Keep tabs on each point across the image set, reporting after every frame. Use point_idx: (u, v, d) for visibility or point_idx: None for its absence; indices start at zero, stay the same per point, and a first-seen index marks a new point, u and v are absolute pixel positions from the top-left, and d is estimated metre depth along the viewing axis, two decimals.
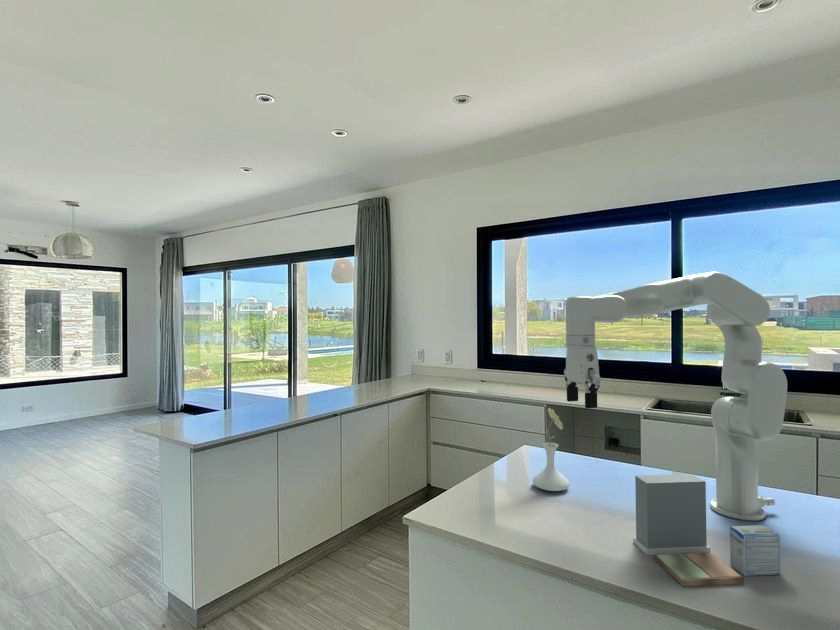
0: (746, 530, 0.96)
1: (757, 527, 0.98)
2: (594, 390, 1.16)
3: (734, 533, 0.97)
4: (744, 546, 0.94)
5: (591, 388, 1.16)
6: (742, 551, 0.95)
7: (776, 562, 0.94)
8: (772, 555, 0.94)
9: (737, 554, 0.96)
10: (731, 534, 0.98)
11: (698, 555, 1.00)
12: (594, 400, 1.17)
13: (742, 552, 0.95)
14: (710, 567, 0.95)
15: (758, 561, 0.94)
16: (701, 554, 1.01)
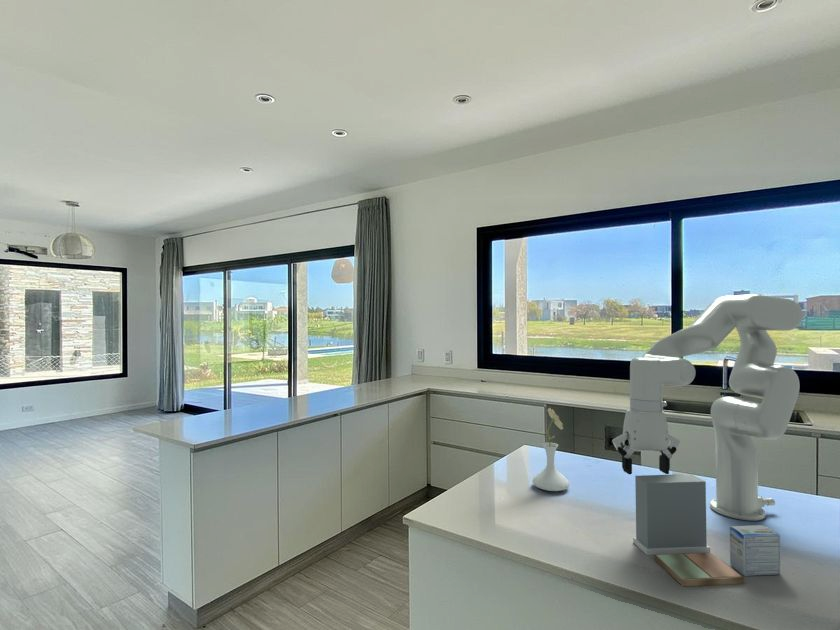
0: (746, 530, 0.96)
1: (757, 527, 0.98)
2: None
3: (734, 533, 0.97)
4: (744, 546, 0.94)
5: (672, 452, 1.15)
6: (742, 551, 0.95)
7: (776, 562, 0.94)
8: (772, 555, 0.94)
9: (737, 554, 0.96)
10: (731, 534, 0.98)
11: (698, 555, 1.00)
12: None
13: (742, 552, 0.95)
14: (710, 567, 0.95)
15: (758, 561, 0.94)
16: (701, 554, 1.01)
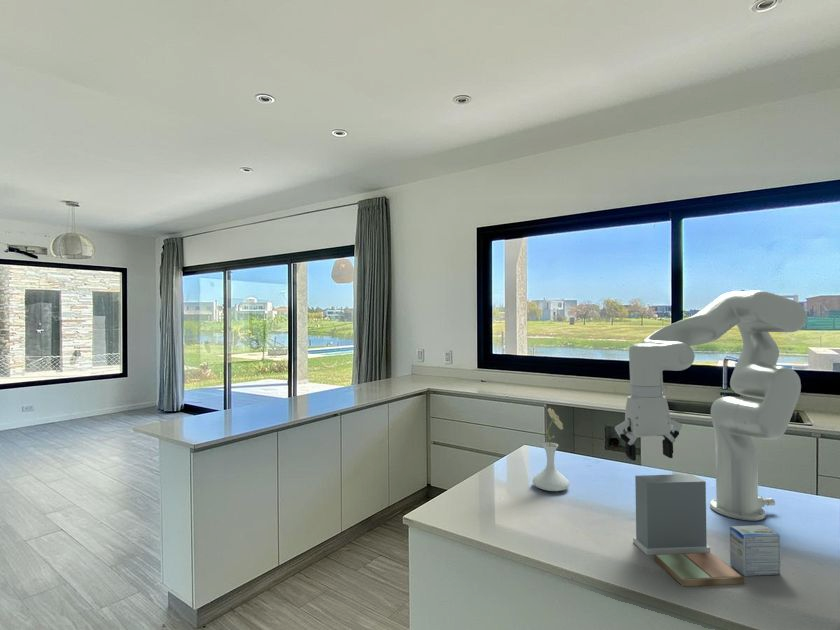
0: (745, 530, 0.96)
1: (757, 527, 0.98)
2: None
3: (734, 533, 0.97)
4: (744, 546, 0.94)
5: (675, 436, 1.16)
6: (742, 551, 0.95)
7: (776, 562, 0.94)
8: (772, 555, 0.94)
9: (737, 554, 0.96)
10: (731, 534, 0.98)
11: (698, 555, 1.00)
12: None
13: (742, 552, 0.95)
14: (710, 567, 0.95)
15: (758, 561, 0.94)
16: (701, 554, 1.01)
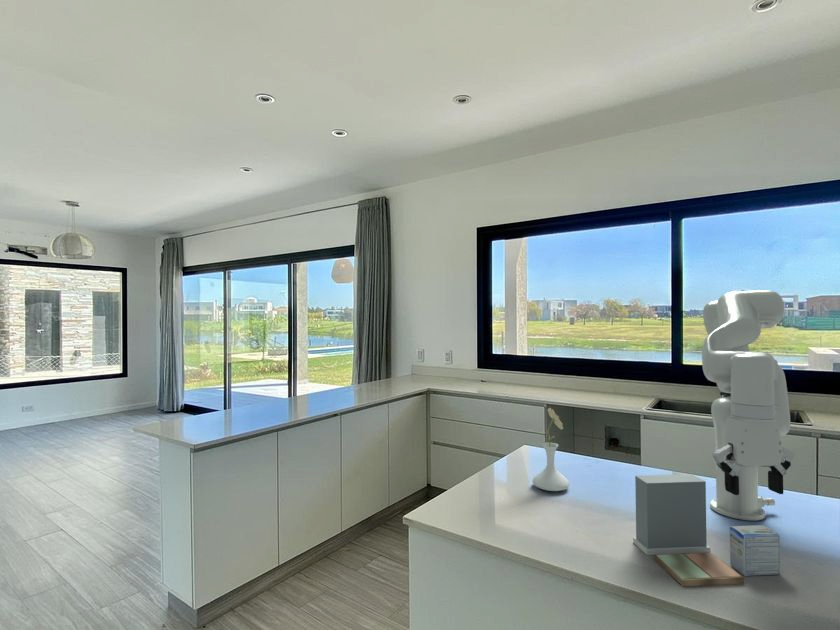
0: (745, 530, 0.96)
1: (757, 527, 0.98)
2: None
3: (734, 533, 0.97)
4: (744, 546, 0.94)
5: (786, 467, 0.96)
6: (742, 551, 0.95)
7: (776, 562, 0.94)
8: (772, 555, 0.94)
9: (737, 554, 0.96)
10: (731, 534, 0.98)
11: (698, 555, 1.00)
12: None
13: (742, 552, 0.95)
14: (710, 567, 0.95)
15: (758, 561, 0.94)
16: (701, 554, 1.01)
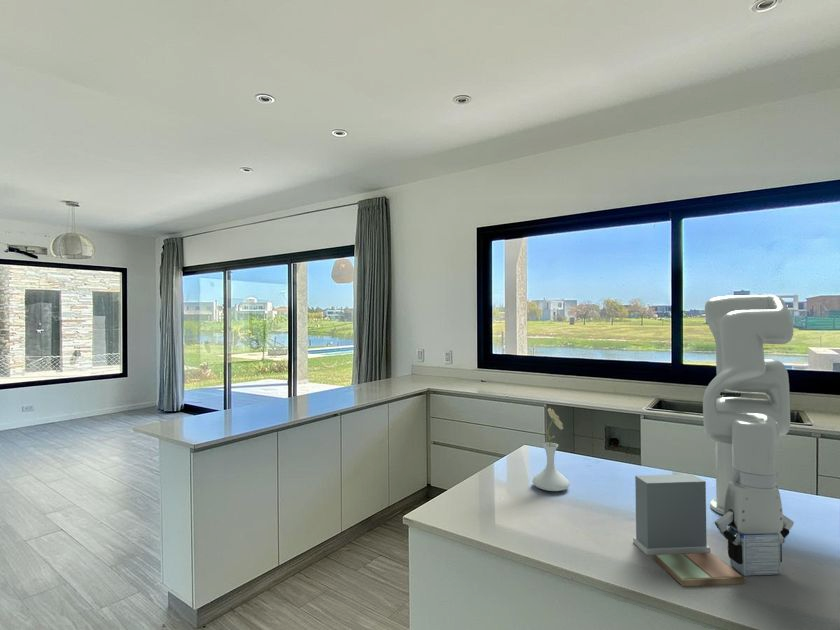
0: None
1: None
2: None
3: (734, 533, 0.97)
4: (744, 546, 0.94)
5: (784, 535, 0.96)
6: (742, 551, 0.95)
7: (776, 562, 0.94)
8: (772, 554, 0.94)
9: None
10: None
11: (698, 555, 1.00)
12: None
13: (742, 552, 0.95)
14: (710, 567, 0.95)
15: (758, 560, 0.94)
16: (701, 554, 1.01)
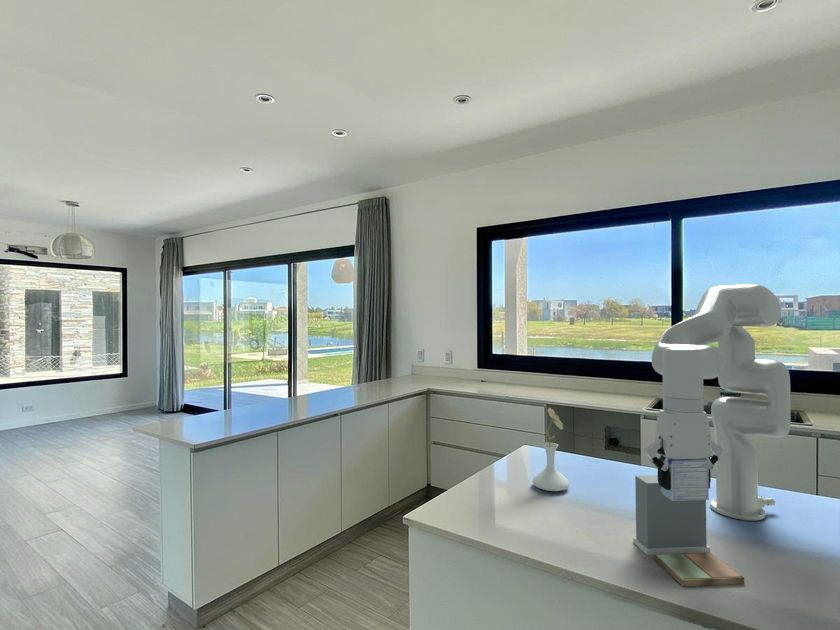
0: None
1: None
2: None
3: (664, 460, 0.97)
4: (672, 471, 0.94)
5: (713, 462, 0.96)
6: (671, 477, 0.94)
7: (704, 487, 0.94)
8: (700, 480, 0.94)
9: None
10: None
11: (698, 555, 1.00)
12: None
13: None
14: (710, 567, 0.95)
15: (686, 486, 0.94)
16: (701, 554, 1.01)
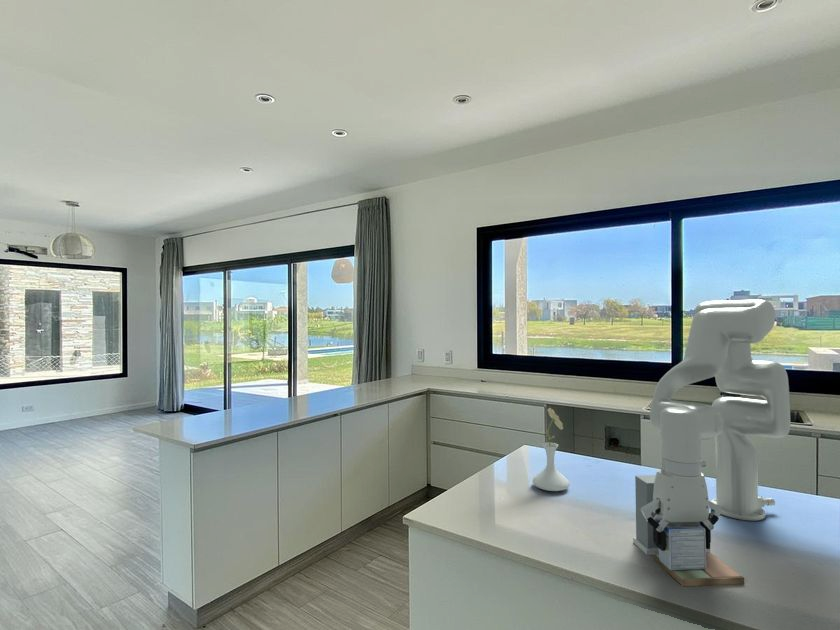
0: (672, 524, 0.96)
1: None
2: None
3: None
4: (669, 540, 0.94)
5: (713, 522, 0.96)
6: (668, 545, 0.94)
7: (702, 556, 0.94)
8: (697, 548, 0.94)
9: None
10: None
11: None
12: None
13: (668, 546, 0.95)
14: (710, 567, 0.95)
15: (684, 555, 0.94)
16: None
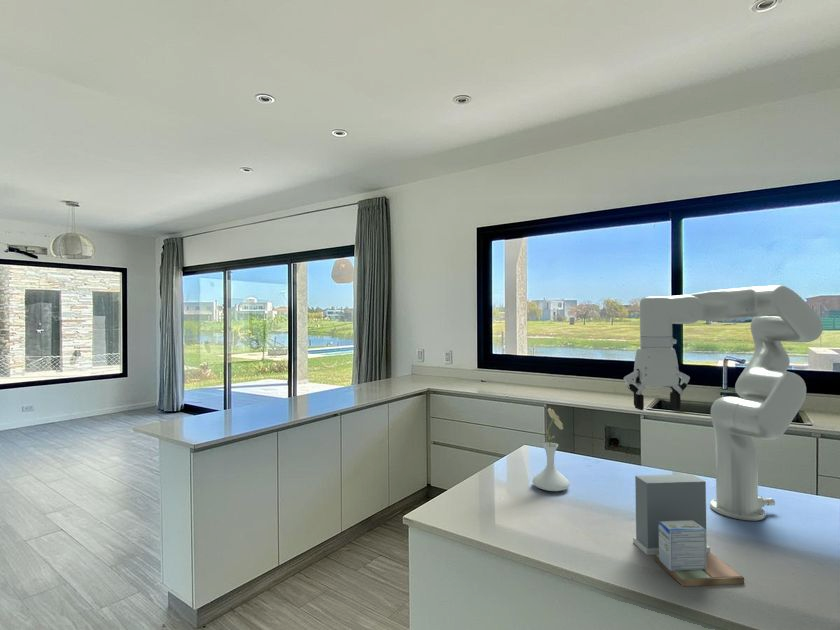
0: (673, 525, 0.96)
1: (685, 522, 0.97)
2: None
3: (662, 528, 0.97)
4: (670, 541, 0.94)
5: (683, 388, 1.18)
6: (668, 546, 0.94)
7: (702, 557, 0.94)
8: (698, 550, 0.94)
9: (664, 549, 0.96)
10: (659, 529, 0.98)
11: None
12: None
13: (668, 547, 0.94)
14: (710, 567, 0.95)
15: (684, 556, 0.94)
16: None
